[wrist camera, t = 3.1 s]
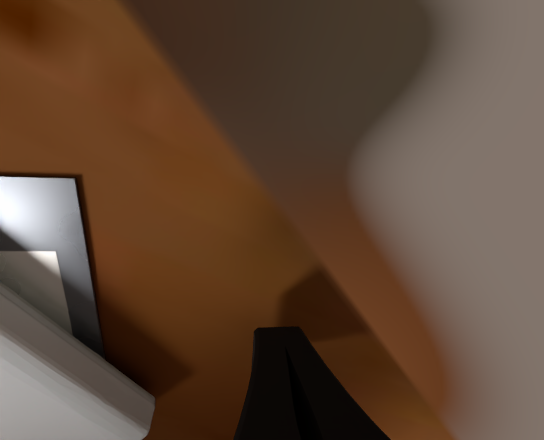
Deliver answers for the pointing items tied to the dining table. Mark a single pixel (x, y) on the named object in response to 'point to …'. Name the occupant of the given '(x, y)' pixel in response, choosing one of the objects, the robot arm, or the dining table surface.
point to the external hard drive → (61, 383)
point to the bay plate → (49, 253)
